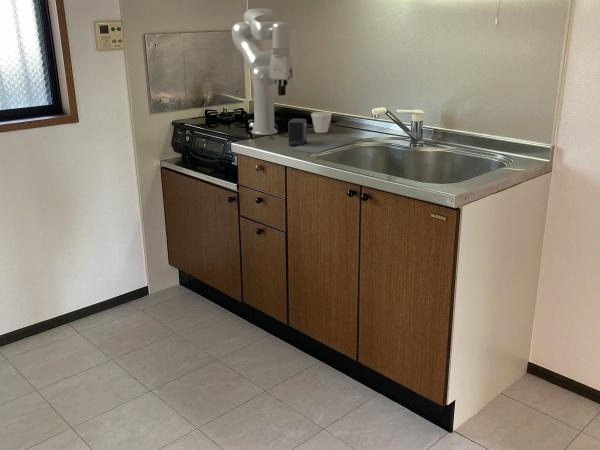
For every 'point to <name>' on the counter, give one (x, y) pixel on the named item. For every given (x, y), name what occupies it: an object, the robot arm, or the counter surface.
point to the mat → (317, 146)
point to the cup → (321, 121)
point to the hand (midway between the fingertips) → (281, 95)
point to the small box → (297, 131)
